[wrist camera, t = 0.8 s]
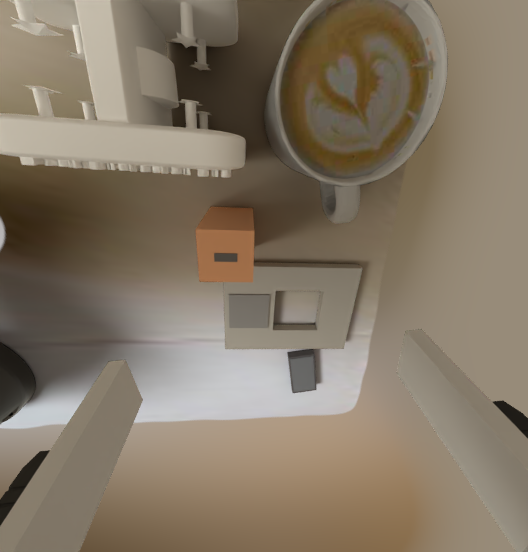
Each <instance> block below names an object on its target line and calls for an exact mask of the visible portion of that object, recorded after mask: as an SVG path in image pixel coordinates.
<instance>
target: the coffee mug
mask: <svg viewBox="0 0 528 552" xmlns="http://www.w3.org/2000/svg"><path fill="white" fill-rule="evenodd" d="M447 54H448V53H447V46H446V40H445V36H444V32H443V28H442V25H441V23H440V19H439V18H438V16H437V14H436V12H435V10H434V9H433V7H432V5H431V3H430V2H429V1H428V0H315V1H314V2H313V3H312V4H311V5H310V6H309V7H308V8H307V9H306V11H305V12H304V13H303V14H302V16H301V17H300V19H299V20H298V21H297V23H296V24H295V26H294V28H293V29H292V31H291V33H290V35H289V37H288V39H287V41H286V43H285V46H284V48H283V50H282V53H281V56H280V59H279V62H278V65H277V67H276V70H275V73H274V76H273V79H272V82H271V85H270V88H269V91H268V94H267V98H266V103H265V111H264V122H265V129H266V134H267V137H268V140H269V143H270V145H271V147H272V149H273V151H274V152H275V154H276V155H277V157H278V158H279V159H280V160H281V161H282V162H283V163H284V164H285V165H287V166H288V167H290V168H291V169H293V170H295V171H297V172H300V173H302V174H304V175H307V176H309V177H311V178H313V179H316V180H318V181H319V182H320V192H321V200H322V206H323V210H324V213H325V215H326V216H327V218H328V219H329V220H330V221H331V222H333V223H336V224H339V223H348V222H350V221H352V220H353V219H354V218H355V217H356V216H357V214H358V210H359V206H360V185H364V184H368V183H371V182H374V181H376V180H379V179H381V178H383V177H385V176H387V175H389V174H390V173H392V172H393V171H394V170H396V169H397V168H398V167H400V166H401V165H402V164H403V163H404V162H406V161H407V160H408V159H409V158H410V157H411V156H412V155H413V154H414V152H415V151H416V150H417V149H418V148H419V146H420V145H421V144H422V142H423V141H424V139H425V138H426V136H427V134H428V132H429V131H430V129H431V127H432V126H433V123H434V121H435V119H436V117H437V114H438V112H439V110H440V106H441V103H442V100H443V96H444V92H445V88H446V80H447V67H448V55H447Z"/></svg>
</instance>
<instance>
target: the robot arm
mask: <svg viewBox="0 0 528 552" xmlns="http://www.w3.org/2000/svg"><path fill="white" fill-rule="evenodd" d="M397 374H398V376H399V378H400V379H401V381H402V382H403V384H404V385H405V386H406V388H407V389H408V391H409V392H410V394H411V395H412V397H413V398H414V400H415V401H416V403H417V404H418V406H419V407H420V409H421V410H422V412H423V413H424V415H425V416H426V418H427V419H428V421H429V422H430V424H431V425H432V427H433V428H434V430H435V431H436V433H437V434H438V436H439V437H440V439H441V440H442V442H443V443H444V445H445V446H446V448H447V449H448V451H449V452H450V454H451V455H452V457H453V458H454V459H455V461H456V463H457V464H458V466H459V467H460V469H461V470H462V472H463V473H464V475H465V476H466V478H467V479H468V481H469V482H470V484H471V485H472V487H473V488H474V490H475V491H476V493H477V494H478V496H479V497H480V499H481V500H482V502H483V503H484V505H485V506H486V508H487V509H488V511H489V512H490V514H491V515H492V516H493V518H494V520H495V521H496V523H497V524H498V525H499V527H500V528H501V530H502V531H503V533H504V534H505V536H506V538H507V539H508V540H509V542H510V543H511V545H512V546H513V548H514V550H515V551H516V552H528V418H527V417H526V416H524V414H523V413H521V412H520V411H518V410H517V409H515V408H514V407H512V406H510V405H509V404H507V403H506V402H504V401H495V402H492V401H491V400H490V399H489V398H488V397H487V396H486V395H485V394H484V393H483V392H482V391H481V390H480V389H479V388H478V387H477V386H476V385H475V384H474V383H473V382H472V381H471V380H470V379H469V378H468V377H467V376H466V375H465V374H464V372H462V370H461V369H460V368H459V367H457V365H456V364H455V363H454V362H453V361H452V360H451V359H450V358H449V357H448V356H447V355H446V354H445V353H444V352H443V351H442V350H441V349H440V348H439V347H438V346H437V345H436V344H435V343H434V342H433V341H432V340H431V338H430V337H429V336H428V335H427V334H426V333H425V332H424V331H423V330H422V329H418V330H409V331H405V335H404V340H403V344H402V349H401V354H400V359H399V364H398V369H397ZM34 391H35V380H34V376H33V374H32V372H31V370H30V369H29V367H28V366H27V364H26V363H25V362H24V361H23V360H22V359H21V358H20V357H19V356H18V355H17V354H15V353H14V352H13V351H11V350H10V349H9V348H7V347H6V346H4V345H2V344H0V424H1V423H2V422H5V421H7V420H8V419H10V418H11V417H13V416H14V415H15V414H17V413H18V412H19V411H20V410H21V409H22V407H23V406H24V405H25V404H26V403H27V402H28V401H29V399H30V398H31V397H32V395H33V393H34ZM142 401H143V399H142V397H141V395H140V392H139V390H138V388H137V385H136V383H135V381H134V379H133V376H132V374H131V372H130V369H129V367H128V365H127V362H126V360H118V361H109V362H108V363H107V365H106V366H105V368H104V369H103V371H102V372H101V374H100V375H99V377H98V378H97V380H96V382H95V383H94V385H93V386H92V388H91V389H90V391H89V392H88V394H87V395H86V397H85V398H84V400H83V401H82V403H81V404H80V406H79V407H78V409H77V410H76V412H75V413H74V415H73V416H72V418H71V419H70V421H69V423H68V424H67V426H66V427H65V429H64V430H63V432H62V433H61V435H60V436H59V438H58V439H57V441H56V442H55V444H54V445H53V447H52V448H51V450H49V451H40V452H39V453H38V454H37V455H36V456H35V457H34V458H33V459H32V460H31V461H30V462H29V463H28V464H27V465H25V466H24V467H23V468H22V470H21V471H20V473H19V474H18V475H17V477H16V478H15V480H14V481H13V483H12V484H11V485H10V487H9V490H8V491H7V492H5V494H4V495H3V497H2V498H1V499H0V552H79V551H80V548H81V546H82V544H83V541H84V539H85V537H86V534H87V532H88V529H89V527H90V524H91V522H92V520H93V517H94V515H95V513H96V510H97V508H98V505H99V503H100V501H101V498H102V496H103V494H104V491H105V489H106V486H107V484H108V482H109V479H110V477H111V475H112V472H113V470H114V467H115V465H116V463H117V460H118V458H119V455H120V453H121V451H122V448H123V446H124V444H125V441H126V439H127V436H128V434H129V432H130V429H131V427H132V425H133V422H134V420H135V417H136V415H137V413H138V410H139V408H140V406H141V403H142Z"/></svg>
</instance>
